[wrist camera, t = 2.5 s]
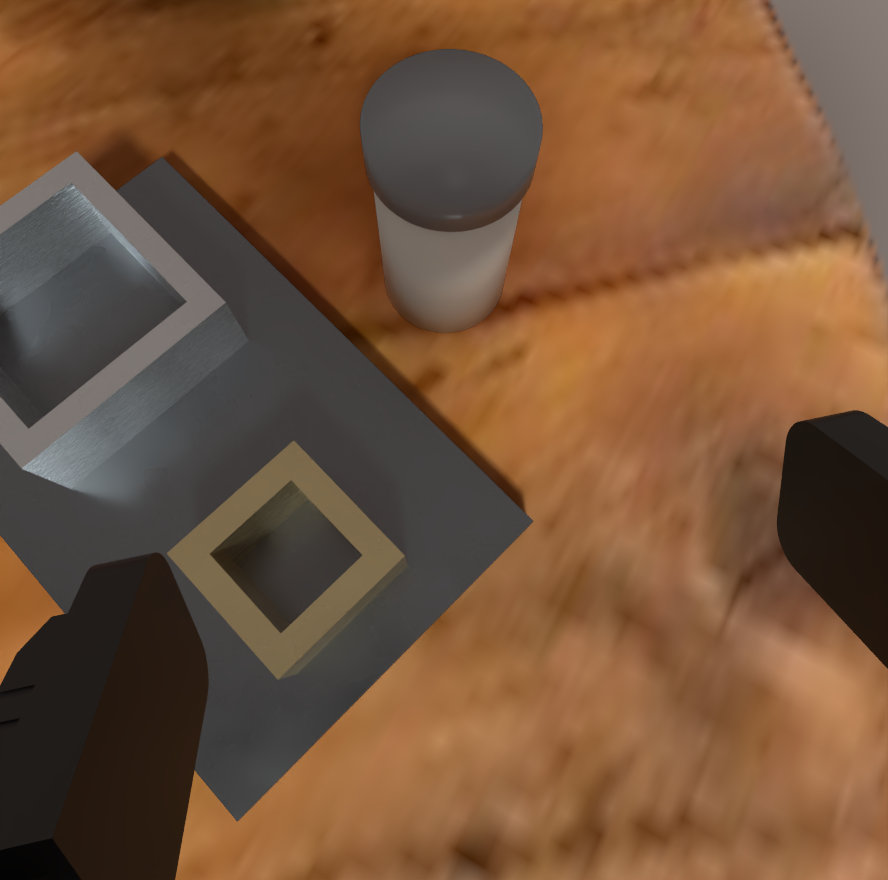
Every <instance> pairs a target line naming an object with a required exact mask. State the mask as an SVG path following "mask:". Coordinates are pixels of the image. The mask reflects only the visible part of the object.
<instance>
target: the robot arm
mask: <svg viewBox="0 0 888 880" xmlns="http://www.w3.org/2000/svg"><path fill="white" fill-rule="evenodd" d="M777 530H778V536H779V540H780V543H781V546H782V549H783V551H784V553H785V555H786V557H787V559H788V561H789V562H790V564H791V565H792V566H793V567H794V569H795V570H796V571H797V572H798V573H799V574H800V575H801V576H802V577H803V578H804V579H805V580H806V582H807V583H808V584H809V585H810V586H811V587H812V588H813V589H814V590H815V591H816V592H817V593H818V594H819V595H820V597H821V598H822V599H823V600H824V601H825V602H826V603H827V604H828V605H829V606H830V607H831V608H832V609H833V611H834V612H835V613H836V614H837V615H838V616H839V617H840V618H841V619H842V620H843V621H844V622H845V623H846V624H847V626H848V627H849V628H850V629H851V630H852V631H853V632H854V633H855V634H856V635H857V636H858V637H859V638H860V639H861V641H862V642H863V643H864V644H865V645H866V646H867V647H868V648H869V649H870V650H871V651H872V652H873V653H874V655H875V656H876V657H877V658H878V659H879V660H880V661H881V662H882V663H883V664H884V665H885V666H886V667H887V668H888V427H887V426H885V425H884V424H882V423H881V422H879V421H877V420H876V419H874V418H873V417H871V416H870V415H868V414H866V413H864V412H862V411H856V410H853V411H848V412H844V413H839V414H834V415H829V416H824V417H819V418H814V419H810V420H805V421H800V422H797V423H795V424H794V425H793V426H792V427H791V428H790V430H789V432H788V435H787V439H786V445H785V454H784V463H783V471H782V480H781V489H780V498H779V506H778V515H777ZM208 687H209V675H208V664H207V658H206V654H205V649H204V646H203V643H202V640H201V638H200V636H199V633H198V631H197V629H196V626H195V624H194V622H193V619H192V617H191V615H190V612H189V610H188V608H187V605H186V603H185V601H184V598H183V596H182V594H181V591H180V589H179V587H178V584H177V582H176V580H175V577H174V575H173V573H172V570H171V568H170V566H169V564H168V562H167V560H166V559H165V558H164V556H163V555H161V554H160V553H158V552H155V553H150V554H145V555H140V556H135V557H130V558H125V559H121V560H116V561H111V562H106V563H101V564H96V565H93V566H91V567H90V568H89V570H88V571H87V573H86V575H85V577H84V579H83V581H82V583H81V586H80V588H79V590H78V592H77V594H76V596H75V599H74V601H73V603H72V605H71V607H70V610H69V612H68V613H67V614H63V615H58V616H53V617H51V618H50V619H49V620H48V621H47V622H46V623H45V624H44V625H43V626H42V627H41V629H40V630H39V631H38V632H37V633H36V634H35V635H34V636H33V637H32V638H31V639H30V640H29V641H28V642H27V643H26V644H25V645H24V646H23V647H22V648H21V649H20V651H19V652H18V653H17V654H16V656H15V658H14V660H13V662H12V664H11V666H10V668H9V669H8V671H7V673H6V675H5V677H4V679H3V681H2V683H1V685H0V880H175V877H176V871H177V866H178V860H179V854H180V849H181V843H182V837H183V832H184V826H185V820H186V815H187V809H188V804H189V798H190V792H191V787H192V781H193V775H194V770H195V764H196V758H197V753H198V747H199V741H200V736H201V730H202V725H203V719H204V713H205V708H206V702H207V696H208Z"/></svg>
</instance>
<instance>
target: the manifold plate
mask: <svg viewBox="0 0 888 880" xmlns="http://www.w3.org/2000/svg"><path fill="white" fill-rule="evenodd" d="M532 522H533V520H532V519H531V518H530V517H529V516H528V515H527V514H526V513H525V512H524V511H523V510H522V509H521V508H519V507H518V506H517V505H516V504H515V503H514V502H513V501H512V500H511V499H510V498H509V497H508V496H507V495H506V494H505V493H504V492H503V491H502V490H501V489H500V488H499V487H498V486H497V485H496V484H495V483H494V482H493V481H492V480H491V479H490V478H489V477H488V476H487V475H486V474H485V473H484V472H483V471H482V470H481V469H480V468H479V467H478V466H477V465H476V464H475V463H474V462H473V461H472V460H471V459H470V458H469V457H467V456H466V455H465V454H464V453H463V452H462V451H461V450H460V449H459V448H458V447H457V446H456V445H455V444H454V443H453V442H452V441H451V440H450V439H449V438H448V437H447V436H446V435H445V434H444V433H443V432H442V431H441V430H440V429H439V428H438V427H437V426H436V425H435V424H434V423H433V422H432V421H431V420H430V419H429V418H428V417H427V416H426V415H425V414H424V413H423V412H422V411H421V410H420V409H419V408H418V407H417V406H416V405H414V404H413V403H412V402H411V401H410V400H409V399H408V398H407V397H406V396H405V395H404V394H403V393H402V392H401V391H400V390H399V389H398V388H397V387H396V386H395V385H394V384H393V383H392V382H391V381H390V380H389V379H388V378H387V377H386V376H385V375H384V374H383V373H382V372H381V371H380V370H379V369H378V368H377V367H376V366H375V365H374V364H373V363H372V362H371V361H370V360H369V359H368V358H367V357H366V356H365V355H364V354H362V353H361V352H360V351H359V350H358V349H357V348H356V347H355V346H354V345H353V344H352V343H351V342H350V341H349V340H348V339H347V338H346V337H345V336H344V335H343V334H342V333H341V332H340V331H339V330H338V329H337V328H336V327H335V326H334V325H333V324H332V323H331V322H330V321H329V320H328V319H327V318H326V317H325V316H324V315H323V314H322V313H321V312H320V311H319V310H318V309H317V308H316V307H315V306H314V305H313V304H312V303H311V302H309V301H308V300H307V299H306V298H305V297H304V296H303V295H302V294H301V293H300V292H299V291H298V290H297V289H296V288H295V287H294V286H293V285H292V284H291V283H290V282H289V281H288V280H287V279H286V278H285V277H284V276H283V275H282V274H281V273H280V272H279V271H278V270H277V269H276V268H275V267H274V266H273V265H272V264H271V263H270V262H269V261H268V260H267V259H266V258H265V257H264V256H263V255H262V254H261V253H260V252H259V251H257V250H256V249H255V248H254V247H253V246H252V245H251V244H250V243H249V242H248V241H247V240H246V239H245V238H244V237H243V236H242V235H241V234H240V233H239V232H238V231H237V230H236V229H235V228H234V227H233V226H232V225H231V224H230V223H229V222H228V221H227V220H226V219H225V218H224V217H223V216H222V215H221V214H220V213H219V212H218V211H217V210H216V209H215V208H214V207H213V206H212V205H211V204H210V203H209V202H208V201H207V200H206V199H204V198H203V197H202V196H201V195H200V194H199V193H198V192H197V191H196V190H195V189H194V188H193V187H192V186H191V185H190V184H189V183H188V182H187V181H186V180H185V179H184V178H183V177H182V176H181V175H180V174H179V173H178V172H177V171H176V170H175V169H174V168H173V167H172V166H171V165H170V164H169V163H168V162H167V161H166V160H165V159H164V158H163V157H161V158H160V159H158V160H157V161H156V162H154V163H153V164H152V165H150V166H149V167H148V168H146V169H145V170H144V171H142V172H141V173H140V174H138V175H137V176H136V177H134V178H133V179H131V180H130V181H129V182H127V183H126V184H125V185H123V186H122V187H121V188H119V189H118V190H117V191H115V190H114V189H113V188H112V187H111V186H110V185H109V183H108V182H107V181H106V180H105V179H104V178H103V177H102V176H101V175H100V174H99V173H98V172H97V171H96V170H95V169H94V168H93V167H92V166H91V165H90V164H89V163H88V162H87V161H86V160H85V159H84V158H83V157H82V156H81V155H80V154H79V153H78V152H77V151H76V152H75V153H73V154H72V155H71V156H69V157H68V158H66V159H65V160H64V161H62V162H61V163H59V164H58V165H57V166H55V167H54V168H52V169H51V170H50V171H48V172H47V173H46V174H44V175H43V176H41V177H40V178H39V179H37V180H36V181H34V182H33V183H32V184H30V185H29V186H27V187H26V188H25V189H23V190H22V191H20V192H19V193H18V194H16V195H15V196H13V197H12V198H11V199H9V200H8V201H6V202H5V203H4V204H2V205H1V206H0V536H1V537H2V538H3V539H4V540H5V542H6V543H7V544H8V545H9V546H10V548H11V549H12V550H13V551H14V552H15V554H16V555H17V556H18V557H19V559H20V560H21V561H22V562H23V563H24V565H25V566H26V567H27V568H28V569H29V571H30V572H31V573H32V574H33V575H34V577H35V578H36V579H37V580H38V581H39V583H40V584H41V585H42V586H43V588H44V589H45V590H46V591H47V592H48V594H49V595H50V596H51V597H52V598H53V600H54V601H55V602H56V603H57V604H58V606H59V607H60V608H61V609H62V610H63V612H64V613H65V614H67V613H68V612H69V610H70V607H71V605H72V603H73V601H74V599H75V596H76V594H77V592H78V590H79V588H80V586H81V583H82V581H83V579H84V577H85V575H86V573H87V571H88V570H89V568H90V567H91V566H93V565H96V564H101V563H106V562H111V561H116V560H121V559H125V558H130V557H135V556H140V555H145V554H150V553H155V552H158V553H160V554H161V555H163V556H164V558H165V559H166V560H167V562H168V564H169V566H170V568H171V570H172V573H173V575H174V577H175V580H176V582H177V584H178V587H179V589H180V591H181V594H182V596H183V598H184V601H185V603H186V605H187V608H188V610H189V612H190V615H191V617H192V619H193V622H194V624H195V626H196V629H197V631H198V633H199V636H200V638H201V640H202V643H203V646H204V649H205V654H206V658H207V664H208V675H209V687H208V696H207V702H206V708H205V713H204V719H203V725H202V730H201V736H200V741H199V747H198V753H197V758H196V764H195V771H196V772H197V774H198V775H199V776H200V777H201V778H202V780H203V781H204V782H205V783H206V784H207V786H208V787H209V788H210V789H211V790H212V792H213V793H214V794H215V795H216V796H217V798H218V799H219V800H220V801H221V803H222V804H223V805H224V806H225V807H226V809H227V810H228V811H229V812H230V813H231V815H232V816H233V817H234V818H235V819H236V821H238V820H240V819H241V818H242V817H243V816H244V815H245V814H246V813H247V812H248V811H249V810H250V809H251V808H252V807H253V806H254V805H255V804H256V803H257V802H258V801H259V800H260V799H261V797H262V796H263V795H264V794H265V793H266V792H267V791H268V790H269V789H270V788H271V787H272V786H273V785H274V784H275V783H276V782H277V781H278V780H279V779H280V778H281V777H282V776H283V775H284V774H285V773H286V772H287V771H288V770H289V769H290V768H291V767H292V766H293V765H294V764H295V763H296V762H297V761H298V760H299V759H300V758H301V757H302V756H303V755H304V754H305V753H306V752H307V751H308V750H309V749H310V748H311V747H312V746H313V745H314V744H315V743H316V742H317V741H318V740H319V739H320V738H321V737H322V736H323V735H324V734H325V733H326V732H327V731H328V730H329V729H330V728H331V726H332V725H333V724H334V723H335V722H336V721H337V720H338V719H339V718H340V717H341V716H342V715H343V714H344V713H345V712H346V711H347V710H348V709H349V708H350V707H351V706H352V705H353V704H354V703H355V702H356V701H357V700H358V699H359V698H360V697H361V696H362V695H363V694H364V693H365V692H366V691H367V690H368V689H369V688H370V687H371V686H372V685H373V684H374V683H375V682H376V681H377V680H378V679H379V678H380V677H381V676H382V675H383V674H384V673H385V672H386V671H387V670H388V669H389V668H390V667H391V666H392V665H393V664H394V663H395V662H396V661H397V660H398V659H399V658H400V657H401V655H402V654H403V653H404V652H405V651H406V650H407V649H408V648H409V647H410V646H411V645H412V644H413V643H414V642H415V641H416V640H417V639H418V638H419V637H420V636H421V635H422V634H423V633H424V632H425V631H426V630H427V629H428V628H429V627H430V626H431V625H432V624H433V623H434V622H435V621H436V620H437V619H438V618H439V617H440V616H441V615H442V614H443V613H444V612H445V611H446V610H447V609H448V608H449V607H450V606H451V605H452V604H453V603H454V602H455V601H456V600H457V599H458V598H459V597H460V596H461V595H462V594H463V593H464V592H465V591H466V590H467V589H468V588H469V587H470V585H471V584H472V583H473V582H474V581H475V580H476V579H477V578H478V577H479V576H480V575H481V574H482V573H483V572H484V571H485V570H486V569H487V568H488V567H489V566H490V565H491V564H492V563H493V562H494V561H495V560H496V559H497V558H498V557H499V556H500V555H501V554H502V553H503V552H504V551H505V550H506V549H507V548H508V547H509V546H510V545H511V544H512V543H513V542H514V541H515V540H516V539H517V538H518V537H519V536H520V535H521V534H522V533H523V532H524V531H525V530H526V529H527V528H528V527H529V526H530V524H531V523H532Z"/></svg>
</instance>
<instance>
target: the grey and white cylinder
mask: <svg viewBox="0 0 888 880" xmlns="http://www.w3.org/2000/svg"><path fill="white" fill-rule="evenodd" d="M542 130H543V124H542V115H541V112H540V108H539V105H538V102H537V100H536V98H535V96H534V94H533V93H532V91H531V89H530V88H529V86H528V85H527V84H526V83H525V82H524V80H523V79H522V78H521V77H520V76H519V75H518V74H517V73H515V72H514V71H513V70H512V69H510V68H509V67H507V66H506V65H504V64H503V63H501V62H499V61H497V60H495V59H493V58H491V57H488V56H486V55H483V54H479V53H476V52H472V51H466V50H457V49H440V50H433V51H427V52H423V53H419V54H416V55H413V56H411V57H408V58H406V59H404V60H402V61H400V62H398V63H397V64H395V65H394V66H392V67H391V68H389V69H388V70H387V71H386V72H385V73H383V74H382V75H381V76H380V77H379V78H378V80H377V81H376V82H375V83H374V84H373V86H372V87H371V89H370V91H369V92H368V94H367V96H366V98H365V101H364V103H363V107H362V110H361V117H360V133H361V140H362V148H363V156H364V163H365V169H366V174H367V177H368V180H369V183H370V185H371V187H372V189H373V190H374V197H375V205H376V213H377V222H378V230H379V239H380V247H381V255H382V264H383V272H384V280H385V287H386V292H387V295H388V298H389V300H390V302H391V304H392V305H393V307H394V308H395V310H396V311H397V312H398V313H399V314H400V315H401V316H402V317H403V318H404V319H405V320H407V321H408V322H410V323H411V324H413V325H415V326H417V327H419V328H421V329H424V330H427V331H432V332H438V333H452V332H458V331H462V330H465V329H468V328H470V327H473V326H475V325H476V324H478V323H480V322H481V321H483V320H484V319H485V318H486V317H487V316H488V315H489V314H490V313H491V312H492V311H493V309H494V308H495V307H496V305H497V303H498V301H499V299H500V296H501V294H502V289H503V285H504V280H505V276H506V271H507V266H508V262H509V257H510V253H511V248H512V243H513V239H514V234H515V230H516V225H517V220H518V216H519V211H520V207H521V202H522V198H523V197H524V196H525V194H526V192H527V190H528V189H529V187H530V184H531V181H532V179H533V175H534V171H535V166H536V162H537V158H538V153H539V149H540V144H541V139H542Z"/></svg>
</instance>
